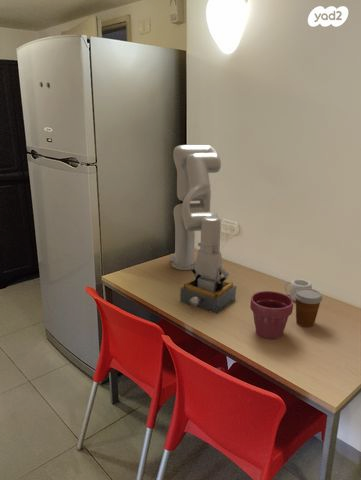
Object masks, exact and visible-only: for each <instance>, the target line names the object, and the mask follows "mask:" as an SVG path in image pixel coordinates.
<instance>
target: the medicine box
mask: <svg viewBox="0 0 361 480" xmlns="http://www.w3.org/2000/svg"><path fill="white" fill-rule="evenodd" d="M217 283H218V282H217V280H216V279H213V278H209V277H205V276H201V277H199V278H198V287H199V288H202V289H205V290H208V291H212V292H215V293H216V284H217Z"/></svg>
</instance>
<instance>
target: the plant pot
mask: <svg viewBox="0 0 361 480" xmlns="http://www.w3.org/2000/svg"><path fill="white" fill-rule="evenodd" d="M249 305H250V310H251V311H252V314H253V315H252V316H253V321H254V327H255V332H256V334H257V335H258V336H259V337H262V338H263V339H268V340H276V339H280V338H281V337H283V334H284V330H285V328H286V325H287V323H288V320H289V316H291V315H292V313H293V310H294V309H293V308H294V300H293V299H292V298H291V296H289V295H288V294H285V293H282V292H278V291H273V290H262V291H258V292H255V293H253V294H252V295H251V297H250V304H249Z"/></svg>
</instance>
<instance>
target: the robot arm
mask: <svg viewBox="0 0 361 480" xmlns="http://www.w3.org/2000/svg"><path fill="white" fill-rule="evenodd" d="M173 162H174V165H175V168H176V196H177V199H178V200H179V201H182V203H179V204H177V205H175V206H174V208H173V219H174V227H175V228H174V231H175V234H174V239H175V241H174V243H175V244H174V247H175V248H174V254H173V253H170V255H169V258H168V259H170V260H172V262H171V266H172V268H174V269H175V270H180V271H181V270H182V271H189V270H191V272H192V273H193V275H194V278H195V283H196V286H198V278H199V277H201V275H202V276H205V277H209V278H213V279H216V280H217V282H218V283H217V284H216V292H217V291H219V290H220V289H222V283H223V281H227V279H228V277H229V275H230V273H229V272H228V271H227V270H225V268H224V267H223V257H222V253H221V251H220V250H221V249H220V246H221V225H222V224H221V222H222V220H221V219H220V216H218V214H217V213H216V212H215V211H211V198H212V197H211V195H212V190H211V183H210V182H211V181H210V175H209V174H214V173H219V171H220V170H221V166H222V162H221V158H220V155H219V154H218V152H217V151H216V149H215V148H214V147H213V146H212V145H210V144H179V145H177V146H175V147H174V149H173ZM196 232H200V242H198V243H197V245H198V246H199V249H198V251H197V255H196V260H195V243H196V242H195V240H196V239H195V235H196V234H195V233H196ZM222 275H223V276H222Z"/></svg>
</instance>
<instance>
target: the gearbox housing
mask: <svg viewBox="0 0 361 480" xmlns="http://www.w3.org/2000/svg"><path fill="white" fill-rule="evenodd" d="M201 276H202V275H201ZM195 278H196V277H194V278H193V279H191V280H189V281H187V282H186V283H184V284H183V286H182V287H180V295H179V296H180V301H179V302H181V303H184V304H186V305H190V306H191V308H199V309H201V310H204V311H206V312H207V311H208V312H209V313H210V312H211V313H213V314H216V315H217V314H219V313H220V312H221V311H222V310H224V309H225V308H227V307H228V306H230V304H233V302H234V301H235V300H236V293H237V285H234V283H233V282H230V281H227V280H224V281H223V283H222V289H220V290H219V291H217V292H216V293H215V292H212V291H208V290H205V289H202V288H199V287H198V286H196V283H195Z"/></svg>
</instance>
